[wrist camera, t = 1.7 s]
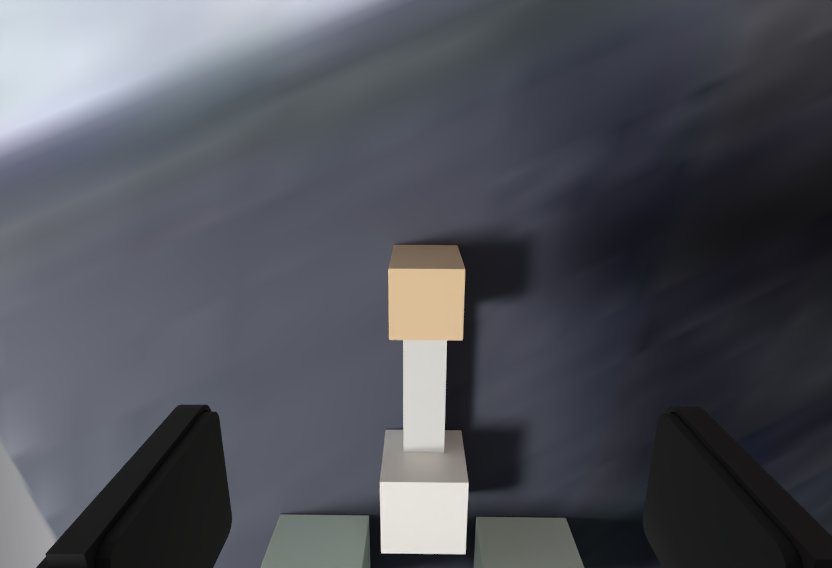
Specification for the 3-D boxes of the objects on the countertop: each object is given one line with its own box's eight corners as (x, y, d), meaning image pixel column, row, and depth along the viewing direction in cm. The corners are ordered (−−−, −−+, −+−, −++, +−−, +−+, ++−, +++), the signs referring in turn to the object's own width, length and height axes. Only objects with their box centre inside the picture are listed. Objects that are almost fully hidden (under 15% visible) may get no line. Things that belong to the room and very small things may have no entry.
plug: (383, 244, 24) (375, 268, 20) (468, 245, 24) (478, 269, 20) (386, 492, 28) (380, 556, 24) (459, 493, 28) (465, 557, 24)
